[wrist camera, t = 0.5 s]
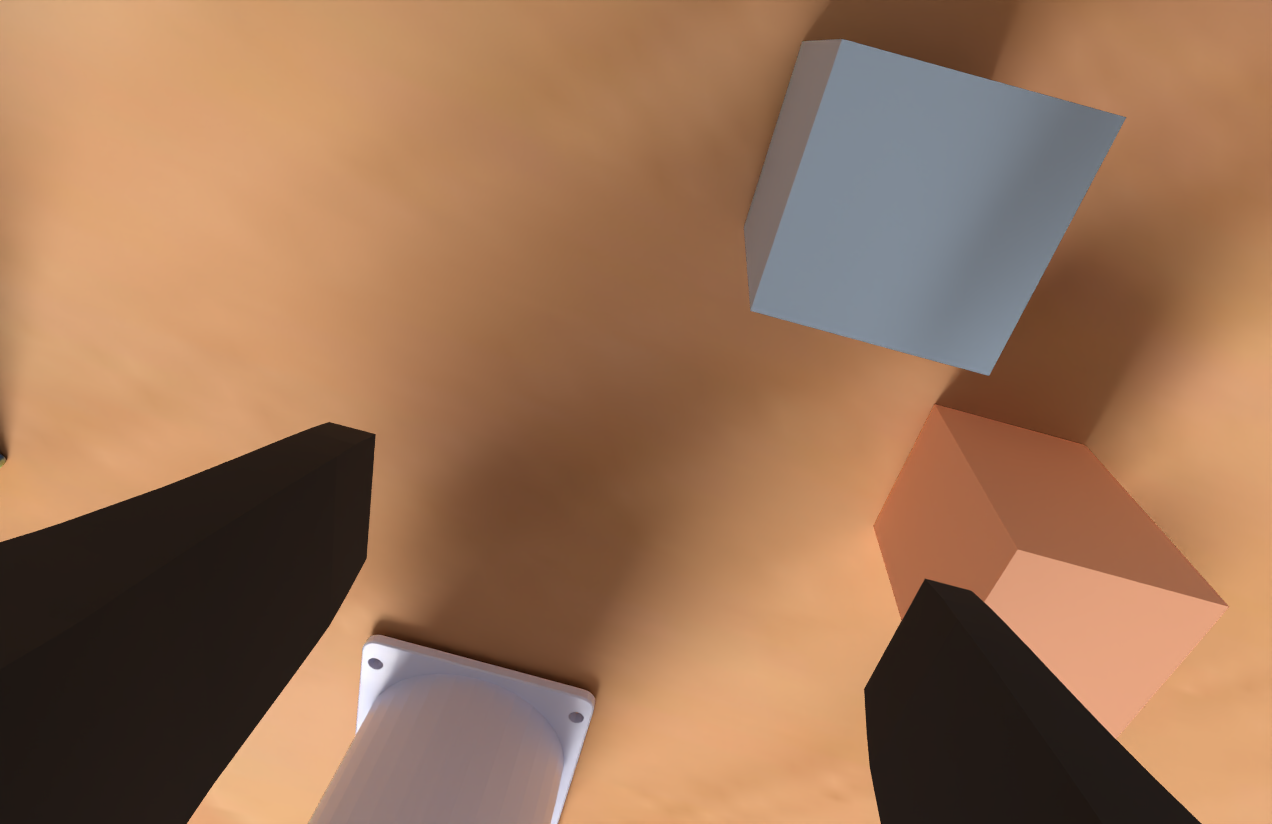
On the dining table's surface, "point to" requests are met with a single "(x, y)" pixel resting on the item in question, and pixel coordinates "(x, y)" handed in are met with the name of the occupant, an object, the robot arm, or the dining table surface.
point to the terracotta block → (1047, 557)
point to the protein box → (2, 460)
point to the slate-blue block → (914, 201)
